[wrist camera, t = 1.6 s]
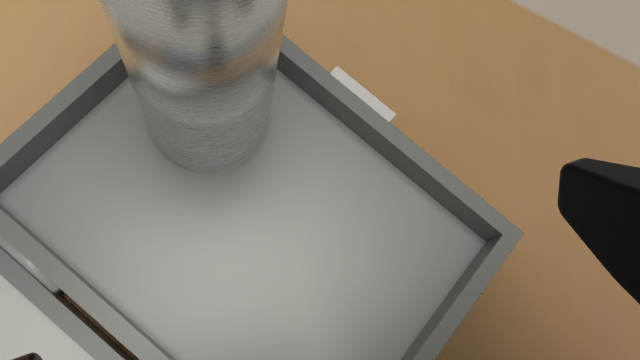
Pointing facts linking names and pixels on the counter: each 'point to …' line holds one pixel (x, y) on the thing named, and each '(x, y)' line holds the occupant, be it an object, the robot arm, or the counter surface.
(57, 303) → the lid
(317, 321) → the case
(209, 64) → the grey cylinder
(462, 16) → the counter surface
